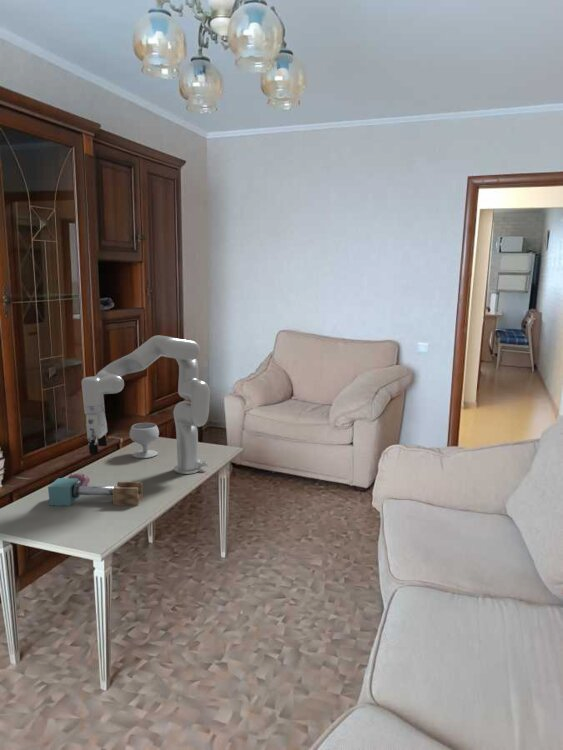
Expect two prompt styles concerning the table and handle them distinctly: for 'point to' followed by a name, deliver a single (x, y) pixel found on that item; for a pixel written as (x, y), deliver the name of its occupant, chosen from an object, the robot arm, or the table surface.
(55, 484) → the socket block
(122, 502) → the wooden cradle block
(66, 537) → the table surface
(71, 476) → the video game controller
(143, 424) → the chalice
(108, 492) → the rod
